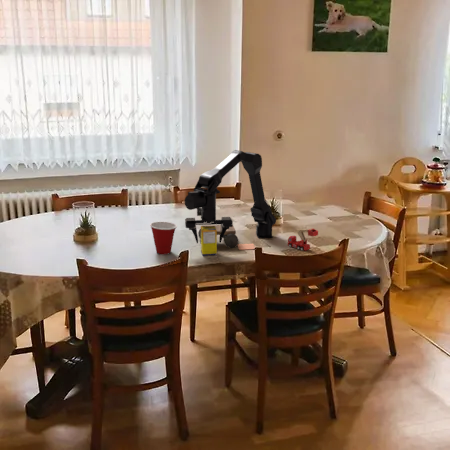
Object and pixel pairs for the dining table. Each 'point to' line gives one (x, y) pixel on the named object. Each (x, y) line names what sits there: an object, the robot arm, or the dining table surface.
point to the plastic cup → (163, 236)
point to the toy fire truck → (303, 242)
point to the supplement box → (208, 240)
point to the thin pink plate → (246, 246)
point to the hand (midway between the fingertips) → (208, 242)
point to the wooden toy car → (225, 236)
